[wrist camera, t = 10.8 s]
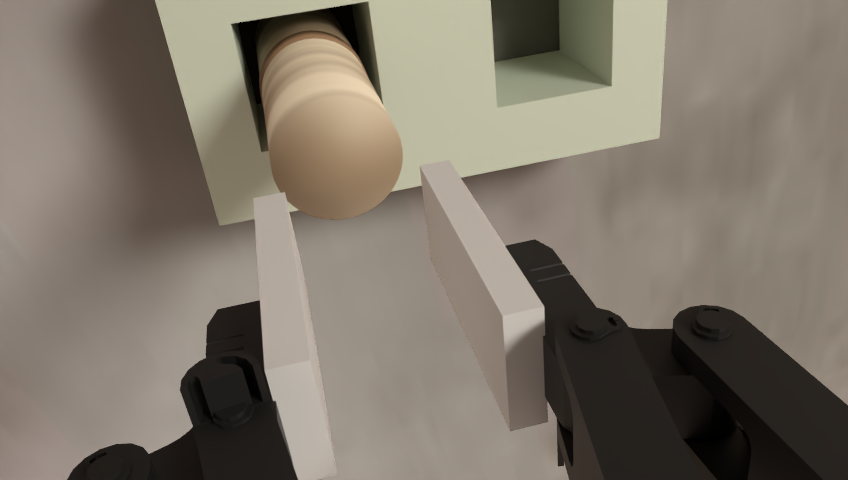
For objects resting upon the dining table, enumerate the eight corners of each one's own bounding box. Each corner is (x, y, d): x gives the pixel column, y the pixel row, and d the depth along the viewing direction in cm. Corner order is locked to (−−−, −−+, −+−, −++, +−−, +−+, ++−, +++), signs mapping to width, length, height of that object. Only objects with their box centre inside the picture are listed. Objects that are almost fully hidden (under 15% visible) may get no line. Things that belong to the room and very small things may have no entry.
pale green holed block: (155, -71, 31) (140, -49, 26) (607, -136, 34) (674, -128, 29) (220, 169, 37) (219, 225, 31) (603, 96, 39) (659, 137, 34)
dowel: (244, 4, 33) (254, 109, 21) (335, -11, 34) (394, 83, 22) (265, 92, 35) (284, 232, 23) (350, 76, 36) (412, 206, 24)
